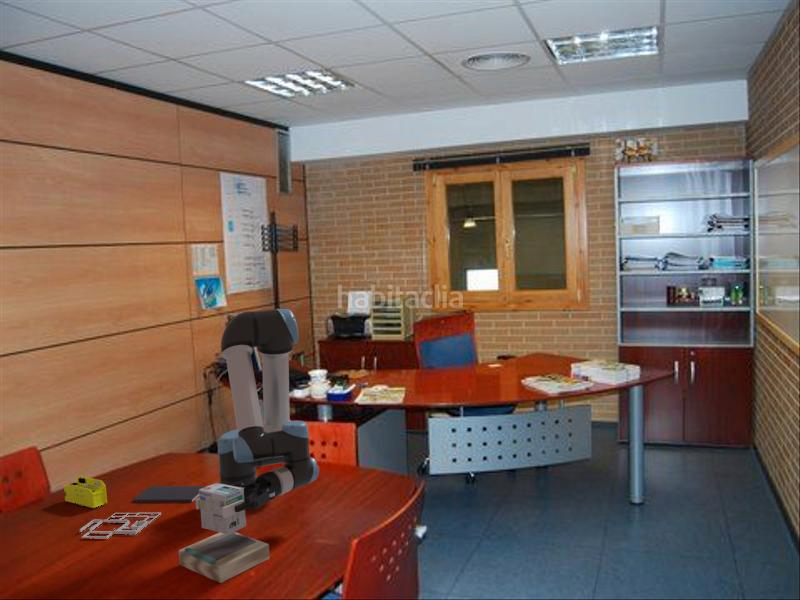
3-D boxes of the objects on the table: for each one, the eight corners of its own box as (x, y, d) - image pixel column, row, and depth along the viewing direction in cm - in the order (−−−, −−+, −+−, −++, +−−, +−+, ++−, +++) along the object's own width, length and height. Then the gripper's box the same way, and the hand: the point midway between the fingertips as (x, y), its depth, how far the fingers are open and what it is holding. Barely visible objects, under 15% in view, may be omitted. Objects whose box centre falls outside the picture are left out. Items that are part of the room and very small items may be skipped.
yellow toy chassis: (108, 504, 230) (106, 480, 229) (93, 510, 225) (91, 486, 224) (79, 497, 238) (77, 474, 237) (64, 503, 233) (62, 479, 233)
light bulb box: (247, 526, 182) (244, 487, 181) (228, 535, 177) (225, 495, 176) (219, 519, 188) (216, 481, 187) (200, 528, 182) (197, 489, 182)
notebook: (132, 503, 231) (192, 503, 228) (132, 499, 230) (191, 499, 228) (150, 490, 243) (207, 490, 241) (150, 486, 243) (207, 485, 240)
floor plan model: (59, 550, 196) (58, 544, 196) (107, 515, 221) (106, 510, 221) (119, 551, 194) (119, 544, 194) (161, 516, 219) (160, 510, 218)
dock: (179, 564, 182) (178, 546, 182) (228, 542, 195) (227, 525, 194) (220, 583, 171) (219, 563, 171) (269, 558, 184) (268, 539, 183)
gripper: (302, 503, 189) (238, 532, 172) (248, 488, 203) (185, 513, 186) (300, 477, 188) (236, 503, 171) (247, 464, 203) (183, 486, 186)
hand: (209, 508), depth 179 cm, fingers closed on light bulb box, 11 cm apart
